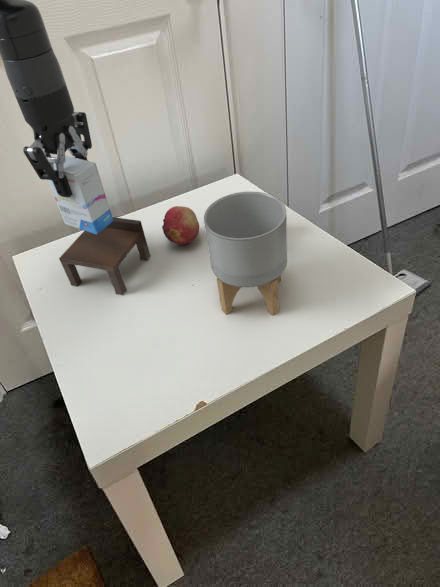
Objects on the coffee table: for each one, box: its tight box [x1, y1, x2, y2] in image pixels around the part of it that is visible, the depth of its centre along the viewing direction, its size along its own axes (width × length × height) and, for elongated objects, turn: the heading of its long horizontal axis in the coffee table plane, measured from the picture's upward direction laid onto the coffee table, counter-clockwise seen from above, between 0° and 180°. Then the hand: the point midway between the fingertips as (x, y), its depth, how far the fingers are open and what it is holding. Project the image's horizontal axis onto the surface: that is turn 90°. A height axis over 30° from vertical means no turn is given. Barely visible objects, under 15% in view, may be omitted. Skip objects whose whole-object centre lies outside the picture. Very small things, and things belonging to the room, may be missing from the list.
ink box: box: [47, 154, 114, 234], centre depth 80 cm, size 9×5×12 cm, turn 58°
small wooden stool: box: [58, 216, 151, 296], centre depth 91 cm, size 12×12×9 cm
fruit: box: [161, 205, 200, 246], centre depth 95 cm, size 8×8×8 cm
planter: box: [203, 191, 288, 316], centre depth 78 cm, size 13×13×18 cm
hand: (76, 186), depth 79 cm, fingers closed on ink box, 5 cm apart
